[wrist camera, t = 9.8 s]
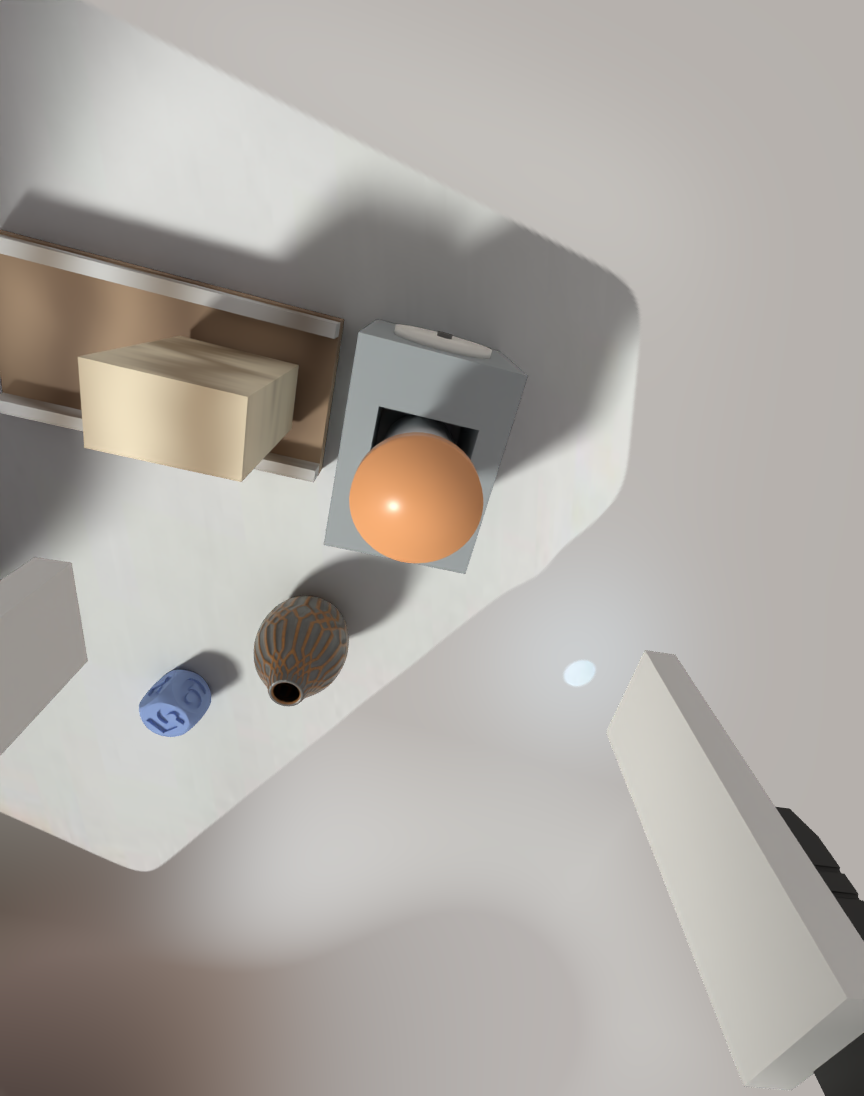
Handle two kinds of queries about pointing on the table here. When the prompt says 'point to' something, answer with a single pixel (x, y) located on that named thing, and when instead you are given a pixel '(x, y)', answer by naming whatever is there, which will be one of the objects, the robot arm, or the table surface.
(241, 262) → the table surface
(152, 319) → the rail board
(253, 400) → the beige wooden block
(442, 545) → the plunger
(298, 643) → the vase
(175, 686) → the decorative dice
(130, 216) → the table surface
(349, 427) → the cabinet
